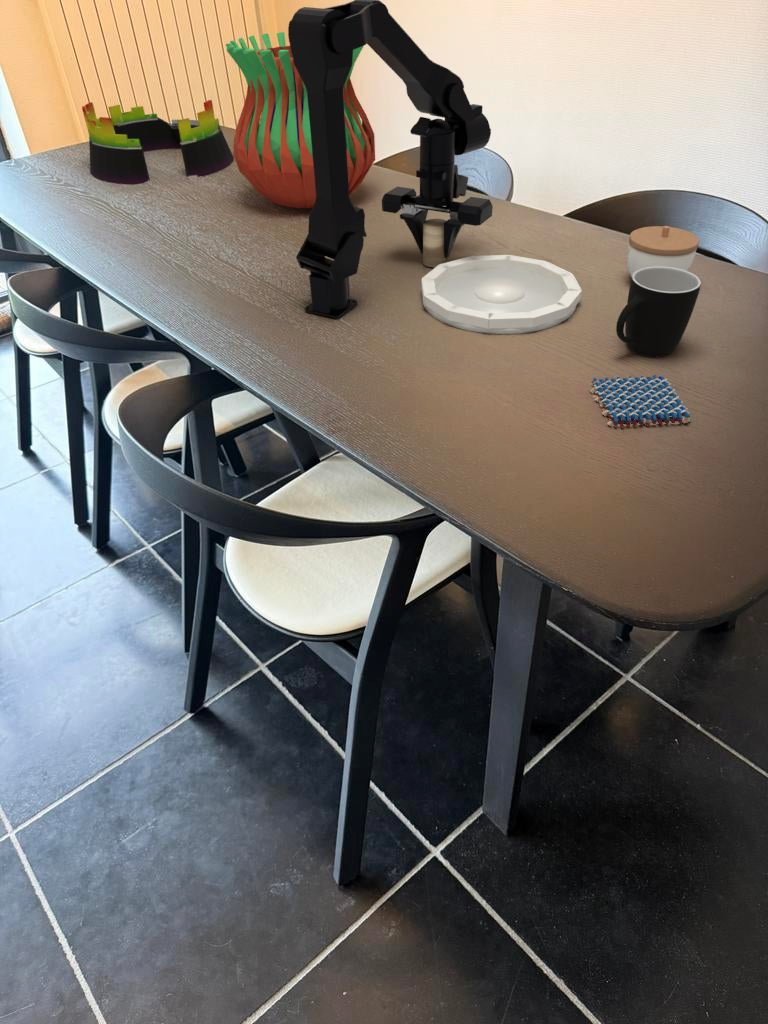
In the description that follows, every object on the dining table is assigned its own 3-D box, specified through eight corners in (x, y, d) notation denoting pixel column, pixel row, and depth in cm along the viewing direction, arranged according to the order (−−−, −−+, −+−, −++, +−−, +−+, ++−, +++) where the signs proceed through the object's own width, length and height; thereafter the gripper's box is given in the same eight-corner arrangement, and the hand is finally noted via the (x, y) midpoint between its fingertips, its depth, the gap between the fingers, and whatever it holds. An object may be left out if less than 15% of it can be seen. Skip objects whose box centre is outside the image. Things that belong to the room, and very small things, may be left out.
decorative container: (263, 156, 189) (254, 91, 179) (162, 194, 165) (146, 122, 156) (164, 141, 204) (152, 81, 194) (59, 174, 181) (39, 107, 171)
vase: (400, 188, 163) (398, 31, 143) (332, 230, 143) (320, 55, 123) (290, 174, 174) (275, 27, 155) (214, 211, 154) (185, 47, 135)
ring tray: (546, 347, 103) (548, 331, 101) (395, 314, 113) (395, 299, 111) (596, 284, 119) (598, 269, 118) (460, 260, 129) (461, 246, 127)
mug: (649, 327, 107) (664, 261, 100) (696, 351, 101) (716, 282, 94) (589, 348, 103) (601, 280, 96) (635, 374, 97) (651, 303, 90)
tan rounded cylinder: (440, 268, 126) (441, 228, 121) (418, 264, 127) (418, 225, 123) (451, 260, 128) (452, 220, 124) (429, 256, 130) (430, 217, 126)
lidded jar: (642, 300, 114) (655, 242, 108) (608, 276, 122) (619, 220, 116) (700, 291, 116) (716, 234, 110) (664, 268, 124) (677, 212, 118)
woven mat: (661, 384, 95) (665, 371, 94) (691, 429, 87) (696, 415, 86) (585, 388, 95) (587, 375, 94) (608, 433, 87) (611, 419, 86)
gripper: (508, 155, 118) (500, 248, 129) (409, 144, 126) (410, 233, 136) (481, 172, 111) (476, 270, 121) (378, 159, 118) (381, 252, 129)
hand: (435, 255), depth 127 cm, fingers closed on tan rounded cylinder, 4 cm apart
